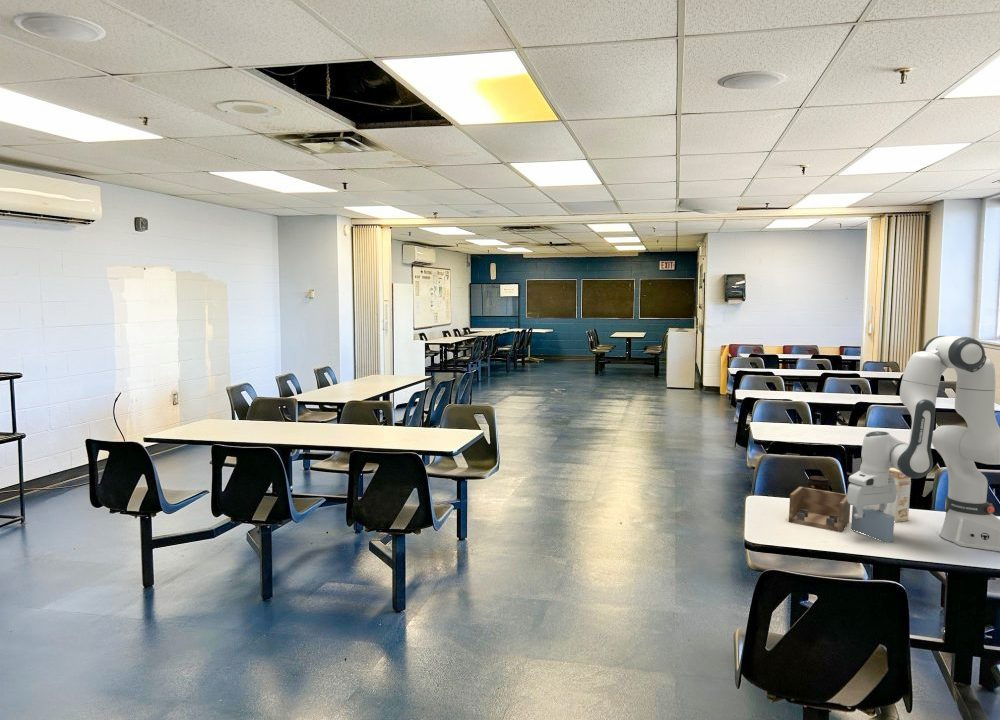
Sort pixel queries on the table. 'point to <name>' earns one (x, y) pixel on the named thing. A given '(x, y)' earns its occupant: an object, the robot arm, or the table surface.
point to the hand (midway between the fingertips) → (870, 516)
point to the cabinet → (819, 509)
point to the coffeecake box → (898, 497)
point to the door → (874, 524)
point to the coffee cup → (818, 483)
